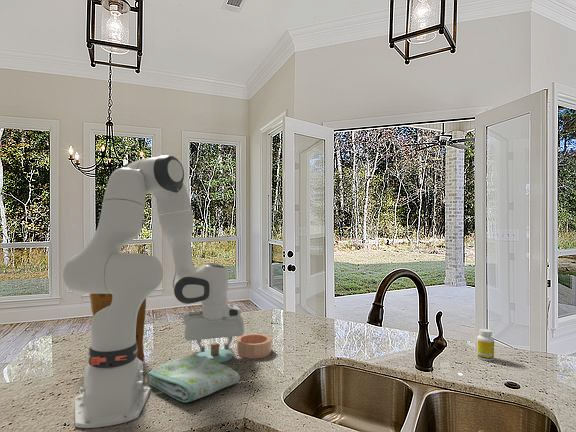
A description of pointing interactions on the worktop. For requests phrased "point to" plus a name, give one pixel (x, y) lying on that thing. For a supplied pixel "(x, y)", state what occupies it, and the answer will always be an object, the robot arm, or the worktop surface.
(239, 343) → the bowl
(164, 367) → the towel
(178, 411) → the worktop surface
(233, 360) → the mat
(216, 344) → the lid
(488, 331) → the supplement bottle
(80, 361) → the worktop surface
